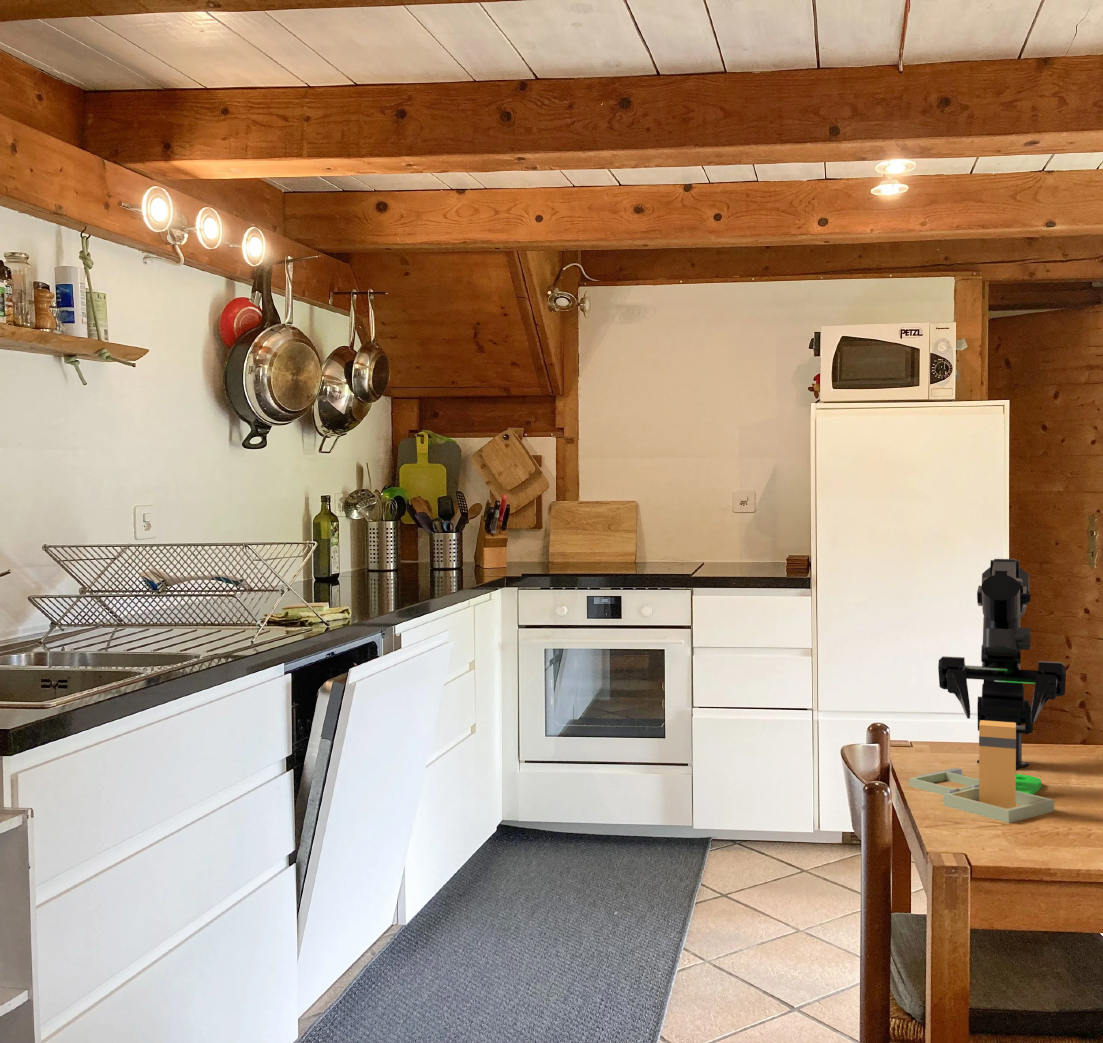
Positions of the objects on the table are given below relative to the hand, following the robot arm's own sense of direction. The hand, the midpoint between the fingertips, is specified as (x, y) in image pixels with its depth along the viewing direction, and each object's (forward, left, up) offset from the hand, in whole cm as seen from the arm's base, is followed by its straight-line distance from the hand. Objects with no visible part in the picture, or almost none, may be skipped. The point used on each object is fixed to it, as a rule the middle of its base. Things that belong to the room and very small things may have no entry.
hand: (1000, 719), depth 168 cm
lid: (+2, -8, -13) cm, 15 cm away
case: (+6, +4, -13) cm, 15 cm away
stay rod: (-4, -14, -13) cm, 20 cm away
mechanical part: (-7, -2, -13) cm, 15 cm away
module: (+6, +4, -12) cm, 14 cm away
